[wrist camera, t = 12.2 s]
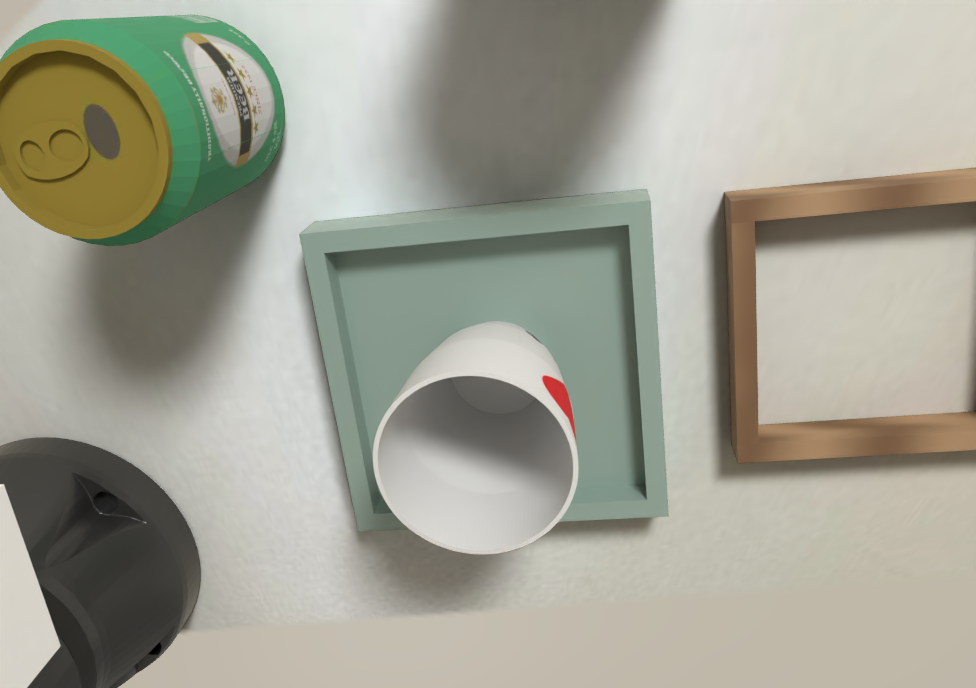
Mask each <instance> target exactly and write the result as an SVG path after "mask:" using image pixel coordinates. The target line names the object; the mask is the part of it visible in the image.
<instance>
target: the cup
mask: <svg viewBox="0 0 976 688" xmlns="http://www.w3.org/2000/svg"><path fill="white" fill-rule="evenodd" d="M373 468H374V474H375V478H376V482H377V485H378V487H379V490H380V492H381V494H382V496H383V498H384V500H385V502H386V503H387V505H388V506H389V508H390V509H391V511H392V512H393V513H394V514H395V516H396V517H397V518H398V519H399V520H400V521H401V522H402V523H403V524H404V525H405V526H406V527H408V528H409V529H410V530H411V531H413V532H414V533H415V534H417V535H418V536H420V537H422V538H423V539H425V540H427V541H429V542H431V543H433V544H435V545H437V546H440V547H443V548H446V549H449V550H452V551H456V552H461V553H468V554H496V553H502V552H507V551H511V550H515V549H518V548H520V547H523V546H525V545H528V544H530V543H532V542H534V541H535V540H537V539H539V538H540V537H542V536H543V535H544V534H546V533H547V532H548V531H549V530H551V529H552V528H553V527H554V526H555V525H556V524H557V523H558V521H559V520H560V519H561V518H562V516H563V515H564V514H565V512H566V511H567V509H568V507H569V505H570V503H571V501H572V499H573V496H574V493H575V490H576V486H577V481H578V470H579V467H578V454H577V444H576V435H575V425H574V415H573V408H572V404H571V400H570V397H569V394H568V392H567V389H566V386H565V384H564V381H563V378H562V375H561V373H560V370H559V367H558V365H557V363H556V361H555V359H554V358H553V356H552V355H551V353H550V352H549V351H548V349H547V348H546V347H545V346H544V345H543V344H542V343H541V342H540V341H539V340H538V339H537V338H536V337H535V336H534V335H532V334H531V333H530V332H529V331H527V330H526V329H524V328H522V327H520V326H518V325H516V324H513V323H509V322H503V321H489V322H484V323H480V324H477V325H474V326H470V327H467V328H465V329H462V330H460V331H458V332H456V333H454V334H453V335H451V336H450V337H448V338H447V339H446V340H445V341H444V342H442V343H441V344H440V345H439V346H438V347H437V348H436V349H435V350H434V351H433V352H432V353H431V354H429V355H428V356H427V357H426V358H425V359H424V360H423V361H422V362H421V363H420V364H419V365H418V366H417V367H416V368H415V370H414V371H413V372H412V374H411V375H410V377H409V378H408V380H407V381H406V383H405V384H404V386H403V387H402V389H401V390H400V392H399V394H398V395H397V397H396V398H395V400H394V401H393V403H392V404H391V406H390V407H389V409H388V410H387V412H386V414H385V415H384V417H383V419H382V420H381V423H380V425H379V427H378V430H377V433H376V436H375V440H374V446H373Z"/></svg>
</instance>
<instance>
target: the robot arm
mask: <svg viewBox="0 0 976 688" xmlns="http://www.w3.org/2000/svg"><path fill="white" fill-rule="evenodd" d="M199 587H200V562H199V555H198V551H197V547H196V544H195V541H194V538H193V535H192V533H191V531H190V528H189V526H188V524H187V522H186V521H185V519H184V517H183V515H182V514H181V512H180V511H179V509H178V508H177V506H176V505H175V504H174V502H173V501H172V500H171V499H170V497H169V496H168V495H167V494H166V493H165V492H164V491H163V490H162V489H161V488H160V487H159V486H158V485H157V484H156V483H155V482H154V481H153V480H152V479H151V478H150V477H148V476H147V475H146V474H145V473H143V472H142V471H141V470H139V469H138V468H136V467H135V466H134V465H132V464H130V463H129V462H127V461H125V460H124V459H122V458H120V457H118V456H116V455H114V454H112V453H110V452H108V451H106V450H103V449H101V448H98V447H95V446H92V445H89V444H86V443H82V442H78V441H74V440H68V439H61V438H30V439H23V440H18V441H14V442H11V443H8V444H5V445H2V446H0V688H117V687H119V686H120V685H122V684H123V683H125V682H126V681H127V680H129V679H130V678H131V677H133V676H134V675H135V674H136V673H137V672H139V671H141V670H143V669H144V668H145V667H147V666H148V665H150V664H151V663H153V662H154V661H155V660H156V659H157V658H159V656H161V655H162V654H163V653H164V651H165V650H166V649H167V648H168V647H169V646H170V645H171V643H172V642H173V640H174V639H175V638H176V636H177V634H178V633H179V631H180V630H181V628H182V627H183V625H184V624H185V622H186V621H187V619H188V617H189V616H190V614H191V612H192V610H193V608H194V606H195V603H196V600H197V597H198V592H199Z"/></svg>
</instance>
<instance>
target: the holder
mask: <svg viewBox="0 0 976 688" xmlns="http://www.w3.org/2000/svg"><path fill="white" fill-rule="evenodd" d="M724 194H725V229H726V265H727V301H728V337H729V372H730V408H731V444H732V447H733V450H734V453H735V456H736V459H737V463H751V462H768V461H786V460H804V459H822V458H840V457H858V456H875V455H893V454H911V453H929V452H947V451H964V450H976V412H961V413H945V414H928V415H912V416H896V417H880V418H864V419H847V420H831V421H815V422H799V423H782V424H766V425H758V383H757V322H756V260H755V221H765V220H775V219H786V218H797V217H808V216H819V215H830V214H841V213H851V212H862V211H873V210H884V209H895V208H906V207H917V206H927V205H938V204H949V203H960V202H971V201H976V168H968V169H958V170H947V171H937V172H927V173H916V174H906V175H896V176H885V177H875V178H865V179H854V180H844V181H834V182H823V183H813V184H803V185H792V186H782V187H772V188H762V189H751V190H741V191H731V192H724Z"/></svg>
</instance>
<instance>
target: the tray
mask: <svg viewBox="0 0 976 688" xmlns="http://www.w3.org/2000/svg"><path fill="white" fill-rule="evenodd" d="M299 235H300V240H301V245H302V251H303V256H304V261H305V266H306V271H307V276H308V281H309V286H310V291H311V296H312V301H313V306H314V311H315V316H316V321H317V326H318V331H319V336H320V341H321V346H322V351H323V356H324V361H325V366H326V371H327V377H328V382H329V387H330V392H331V397H332V402H333V407H334V412H335V417H336V422H337V427H338V432H339V437H340V442H341V447H342V452H343V457H344V462H345V467H346V472H347V477H348V482H349V487H350V492H351V497H352V503H353V508H354V513H355V518H356V523H357V528H358V531H378V530H399V529H409V528H408V527H406V526H405V525H404V524H403V523H402V522H401V521H400V520H399V519H398V518H397V517H396V516H395V514H394V513H393V512H392V511H391V509H390V508H389V506H388V505H387V503H386V502H385V500H384V498H383V496H382V494H381V492H380V490H379V487H378V485H377V482H376V478H375V474H374V468H373V446H374V440H375V436H376V433H377V430H378V427H379V425H380V423H381V420H382V419H383V417H384V415H385V414H386V412H387V410H388V409H389V407H390V406H391V404H392V403H393V401H394V400H395V398H396V397H397V395H398V394H399V392H400V390H401V389H402V387H403V386H404V384H405V383H406V381H407V380H408V378H409V377H410V375H411V374H412V372H413V371H414V370H415V368H416V367H417V366H418V365H419V364H420V363H421V362H422V361H423V360H424V359H425V358H426V357H427V356H428V355H429V354H431V353H432V352H433V351H434V350H435V349H436V348H437V347H438V346H439V345H440V344H441V343H442V342H444V341H445V340H446V339H447V338H448V337H450V336H451V335H453V334H454V333H456V332H458V331H460V330H462V329H465V328H467V327H470V326H474V325H477V324H480V323H484V322H489V321H503V322H509V323H513V324H516V325H518V326H520V327H522V328H524V329H526V330H527V331H529V332H530V333H531V334H532V335H534V336H535V337H536V338H537V339H538V340H539V341H540V342H541V343H542V344H543V345H544V346H545V347H546V348H547V349H548V351H549V352H550V353H551V355H552V356H553V358H554V359H555V361H556V363H557V365H558V367H559V370H560V373H561V375H562V378H563V381H564V384H565V386H566V389H567V392H568V394H569V397H570V400H571V404H572V408H573V415H574V425H575V435H576V444H577V454H578V467H579V470H578V481H577V486H576V490H575V493H574V496H573V499H572V501H571V503H570V505H569V507H568V509H567V511H566V512H565V514H564V515H563V516H562V518H561V519H560V520H559V521H558V522H563V521H584V520H604V519H625V518H645V517H666V516H668V499H667V482H666V464H665V447H664V429H663V412H662V394H661V377H660V359H659V342H658V324H657V307H656V290H655V272H654V255H653V237H652V220H651V202H650V197H649V194H648V191H647V189H641V190H631V191H620V192H610V193H600V194H590V195H580V196H570V197H560V198H549V199H539V200H529V201H519V202H509V203H499V204H489V205H478V206H468V207H458V208H448V209H438V210H428V211H417V212H407V213H397V214H387V215H377V216H367V217H357V218H346V219H336V220H326V221H316V222H313V223H312V224H311V225H310V226H309V227H307V228H306V229H305V230H304V231H303V232H301V233H300V234H299Z"/></svg>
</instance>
